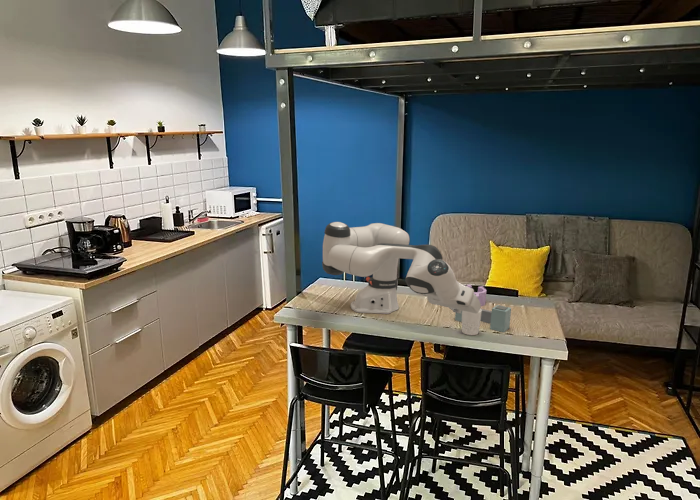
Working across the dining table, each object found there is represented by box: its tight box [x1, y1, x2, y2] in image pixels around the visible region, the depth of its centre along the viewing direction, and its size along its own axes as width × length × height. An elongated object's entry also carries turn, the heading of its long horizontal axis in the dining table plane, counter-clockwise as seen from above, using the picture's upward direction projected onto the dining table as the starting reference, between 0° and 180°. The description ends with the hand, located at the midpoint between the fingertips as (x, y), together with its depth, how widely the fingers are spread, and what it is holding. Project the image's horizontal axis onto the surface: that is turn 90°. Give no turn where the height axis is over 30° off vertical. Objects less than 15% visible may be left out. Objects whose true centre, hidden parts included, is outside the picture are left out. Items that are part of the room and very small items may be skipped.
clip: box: [466, 284, 487, 307], centre depth 242 cm, size 20×12×7 cm, turn 157°
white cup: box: [461, 308, 482, 336], centre depth 206 cm, size 8×8×10 cm
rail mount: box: [454, 304, 512, 333], centre depth 216 cm, size 8×22×9 cm, turn 53°
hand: (457, 311), depth 193 cm, fingers closed
